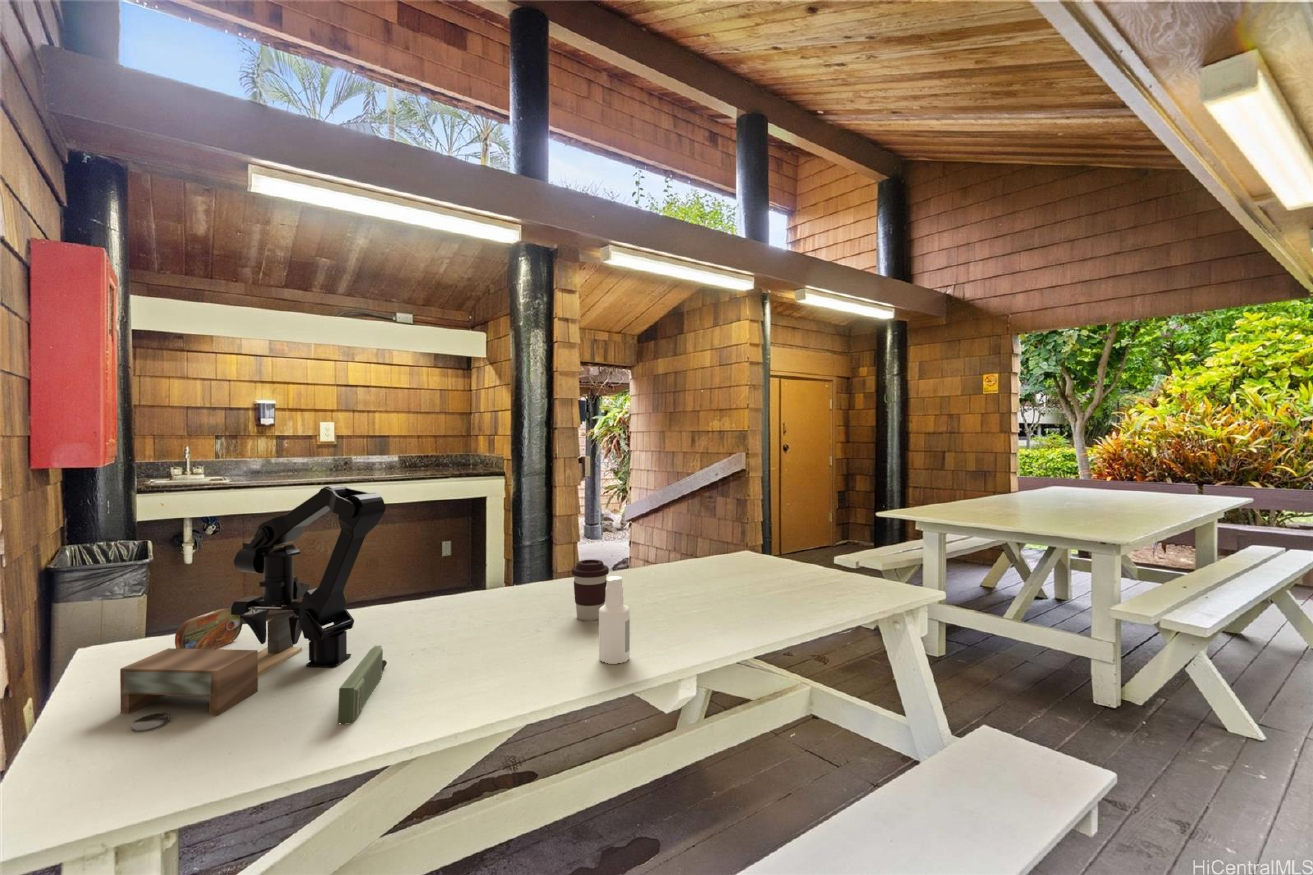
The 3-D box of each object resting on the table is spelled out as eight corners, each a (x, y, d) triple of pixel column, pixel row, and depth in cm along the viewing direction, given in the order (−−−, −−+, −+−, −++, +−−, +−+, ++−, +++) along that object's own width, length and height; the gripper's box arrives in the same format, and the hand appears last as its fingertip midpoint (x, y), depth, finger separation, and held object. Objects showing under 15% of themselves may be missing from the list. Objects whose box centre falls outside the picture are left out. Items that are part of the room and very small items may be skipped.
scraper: (304, 649, 139) (304, 614, 138) (231, 692, 116) (231, 650, 116) (271, 648, 139) (270, 614, 139) (191, 691, 116) (191, 650, 116)
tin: (183, 662, 131) (183, 623, 131) (171, 661, 132) (171, 622, 132) (243, 638, 146) (243, 604, 146) (232, 637, 146) (232, 603, 146)
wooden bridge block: (257, 691, 116) (257, 650, 116) (216, 716, 106) (216, 671, 106) (168, 689, 117) (168, 648, 117) (119, 714, 107) (118, 669, 107)
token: (177, 719, 106) (177, 713, 106) (152, 734, 101) (152, 727, 101) (149, 719, 106) (149, 712, 106) (123, 733, 101) (123, 726, 101)
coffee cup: (606, 623, 158) (606, 566, 157) (569, 623, 158) (569, 566, 157) (610, 611, 167) (610, 558, 167) (574, 611, 168) (574, 557, 167)
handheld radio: (334, 726, 103) (374, 669, 128) (354, 725, 104) (391, 668, 128) (335, 687, 103) (376, 637, 128) (356, 687, 104) (392, 637, 128)
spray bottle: (636, 658, 133) (636, 577, 133) (613, 667, 128) (613, 583, 128) (615, 650, 138) (615, 572, 138) (592, 659, 133) (592, 578, 133)
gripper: (339, 567, 143) (339, 632, 143) (263, 566, 144) (264, 631, 144) (310, 578, 132) (310, 649, 132) (228, 577, 133) (229, 647, 133)
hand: (279, 643), depth 136 cm, fingers open, 7 cm apart
